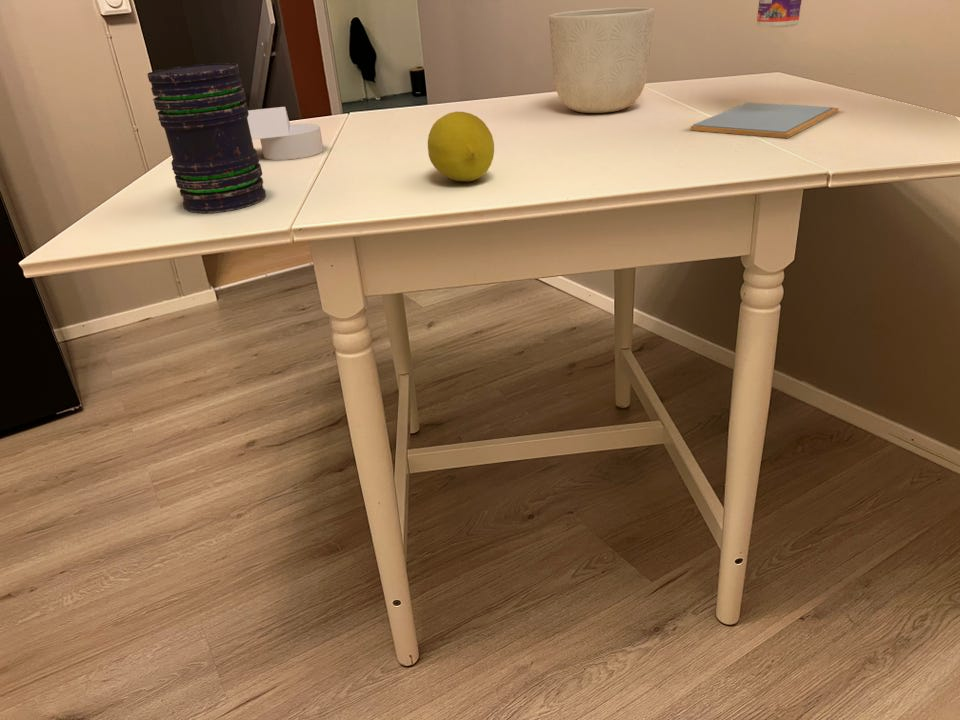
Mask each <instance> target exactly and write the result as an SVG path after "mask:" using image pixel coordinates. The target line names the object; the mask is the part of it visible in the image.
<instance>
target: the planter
mask: <svg viewBox="0 0 960 720" xmlns="http://www.w3.org/2000/svg"><path fill="white" fill-rule="evenodd" d="M654 18H655V8H654V7H649V6H648V7H647V6H629V7H628V6H626V7H606V8H604V7H603V8H593V9H591V8H590V9H580V10H570V11H561V12H556V13H551V14H549V15H548V21H549V22H548V24H549V25H548V26H549V36H550V48H551V49H550V50H551V59H552V60H551V61H552V72H553V83H554V87H555V90H556V93H557V97H558V98H559V99H560V101H561V102H562V103H563V105H564V106H565V107H566V108H568V109H569V110H572V111H575V112H578V113H583V114H607V113H614V112H619V111H622V110H625V109H628V108H629V107H631V106H632V105H634V104H635V103H636V101H637V100H638V99H639V97H640V96H641V95H642V93H643V90H644V89H645V85H646V81H647V77H648V71H649V63H650V52H651V44H652V36H653V28H654V27H653V26H654Z"/></svg>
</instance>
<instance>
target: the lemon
mask: <svg viewBox="0 0 960 720" xmlns="http://www.w3.org/2000/svg"><path fill="white" fill-rule="evenodd" d="M427 152H428V154H427V155H428V157H429V160H430V163H431V164H432V166H433V167H434V169H435V170H436V171H437V172H438V173H439V174H440V175H442V176H444V177H445V178H447V179H449V180H452V181H457V182H472V181H476V180H478V179H480V178H481V177H483V176H484V175H485V174H487V172H488V171H489V169H490V167H491V165H492V164H493V163H492V162H493V160H494V155H495V141H494V138H493V134H492V132H491V131H490V129H489V127H488V126H487V124H486V123H485V122H484V121H483V120H482V119H481V118H479V116H477V115H474V114H472V113H469V112H467V111H452V112H448V113H446V114H445V115H443V116H441V117H440V118H438V119H437V120H436V121H435V122H434V123H433V125H432V126H431V128H430V130H429V134H428V137H427Z"/></svg>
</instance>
